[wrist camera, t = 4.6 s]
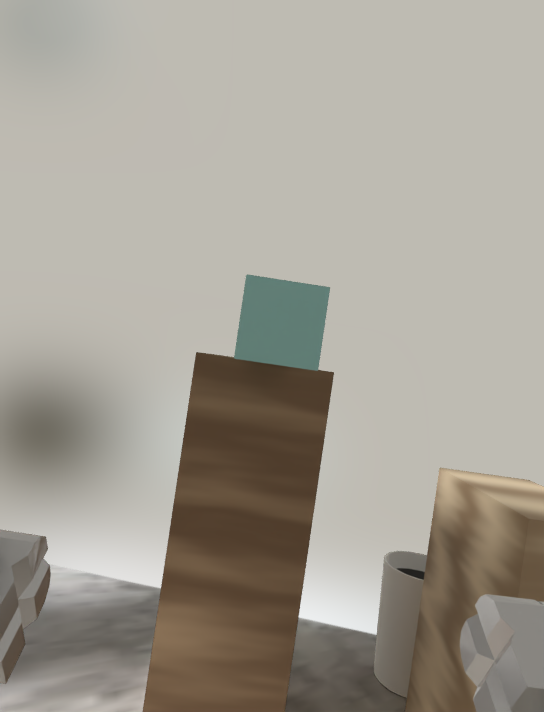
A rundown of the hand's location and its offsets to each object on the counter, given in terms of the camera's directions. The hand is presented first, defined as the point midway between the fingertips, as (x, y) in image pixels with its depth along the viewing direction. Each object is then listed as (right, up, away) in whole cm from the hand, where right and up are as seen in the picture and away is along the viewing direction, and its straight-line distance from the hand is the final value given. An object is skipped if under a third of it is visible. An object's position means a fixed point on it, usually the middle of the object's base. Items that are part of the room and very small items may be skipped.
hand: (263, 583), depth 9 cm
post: (-4, -22, +26) cm, 35 cm away
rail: (0, +4, +21) cm, 22 cm away
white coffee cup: (+12, -25, +35) cm, 44 cm away
